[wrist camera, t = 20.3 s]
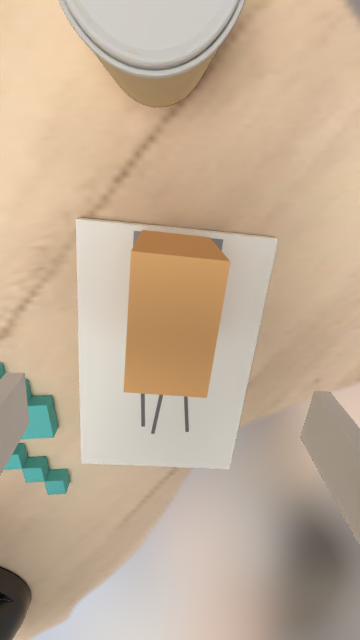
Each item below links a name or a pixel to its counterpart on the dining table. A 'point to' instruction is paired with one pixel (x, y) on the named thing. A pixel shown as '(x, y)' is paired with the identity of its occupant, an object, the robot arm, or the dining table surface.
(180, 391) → the tan rectangular block
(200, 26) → the coffee cup
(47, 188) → the dining table surface
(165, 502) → the dining table surface
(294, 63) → the dining table surface
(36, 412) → the alien figure
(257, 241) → the painted board
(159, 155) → the dining table surface
